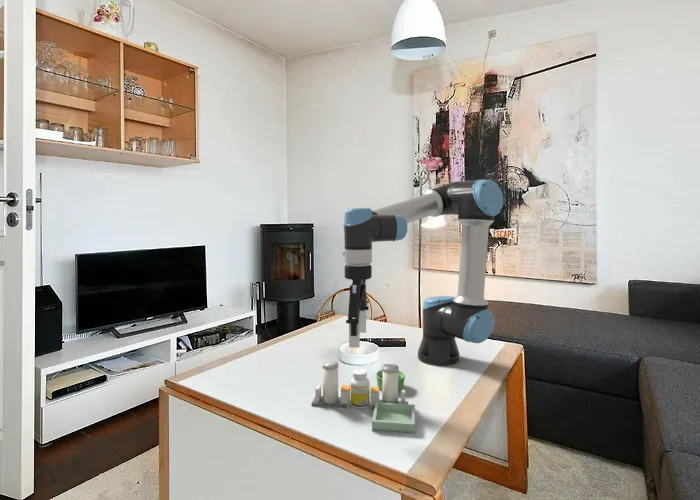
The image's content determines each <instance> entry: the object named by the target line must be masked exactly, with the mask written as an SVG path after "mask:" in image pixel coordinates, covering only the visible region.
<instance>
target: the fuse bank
mask: <svg viewBox="0 0 700 500" xmlns="http://www.w3.org/2000/svg"><path fill="white" fill-rule="evenodd" d="M321 367H322V385H321V384H317V385H316V388H315V389H314V390H315V393H314V394H315V396H314V398H313V399H312V402H311V406H312V407H326V408H338V409H339V408H341V409H347V407H349V406H350V405H351V385H350V384H349V385H348V384H347V385H346V384H342V385H341V388H340V396H339V362H338V361H335V360H326V361H324V362H322V364H321ZM381 370H382V391H381V393H382V395H381V397H382V399H380V390H379V387H378V386H371V388H370V405H369V406H370V409H371V411H374V408H375V403H376V402H380V403H395V404H409V401H408V400H406V389H402V390H401V391H400V392H401V393H400V397H401V398H400V400H399V392H398V371H400V369H399V365H397V364H394V363H385V364H382V366H381Z"/></svg>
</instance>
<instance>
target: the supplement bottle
mask: <svg viewBox="0 0 700 500" xmlns="http://www.w3.org/2000/svg"><path fill="white" fill-rule="evenodd" d="M349 383H350V384H349V385H350V405H351V407H352V408H354V409H359V410H360V409H361V410H363V409H366V408H368V407H369V406H370V391H371V388H370V379H369V377H368V372H367V370H365V369H361V368H359V369H357V368H356V369H354V370H352V378H351V379H350V382H349Z"/></svg>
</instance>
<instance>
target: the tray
mask: <svg viewBox="0 0 700 500" xmlns="http://www.w3.org/2000/svg"><path fill="white" fill-rule="evenodd" d="M415 407H416V405H415V404H410V403H408V404H395V403H380V402H376V403H375V408H374V410H373V413H372V417H371V418H372V420H371V432H383V433H396V434H407V435H408V434H409V435H410V434H411V435H415V433H416V432H415V429H416V427H415V426H416V421H415V419H416V413H415V412H416V408H415Z"/></svg>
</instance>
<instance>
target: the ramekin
mask: <svg viewBox="0 0 700 500" xmlns="http://www.w3.org/2000/svg"><path fill="white" fill-rule="evenodd" d="M375 377H376V382H377V386H376V387H379V391H381V392H382V369H380V370H378V371H377V372H376V375H375ZM405 378H406V373H404V372H403V371H401V370H399V371H398V393H400V392H401V391H402V390H404V385H405Z"/></svg>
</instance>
